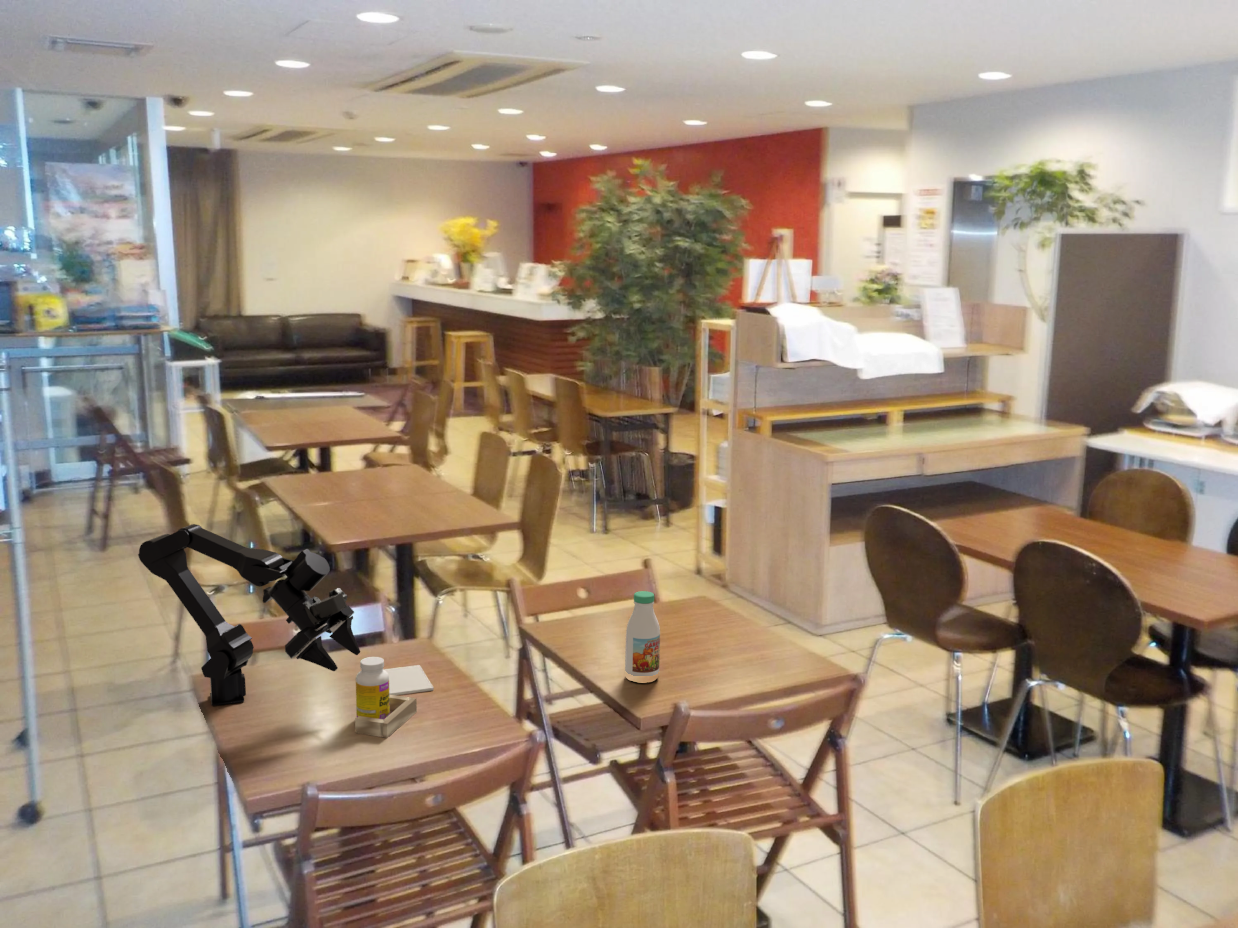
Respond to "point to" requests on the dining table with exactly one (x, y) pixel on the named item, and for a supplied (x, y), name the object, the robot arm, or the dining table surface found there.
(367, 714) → the supplement bottle
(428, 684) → the white mat
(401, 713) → the bottle cradle
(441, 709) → the dining table surface
